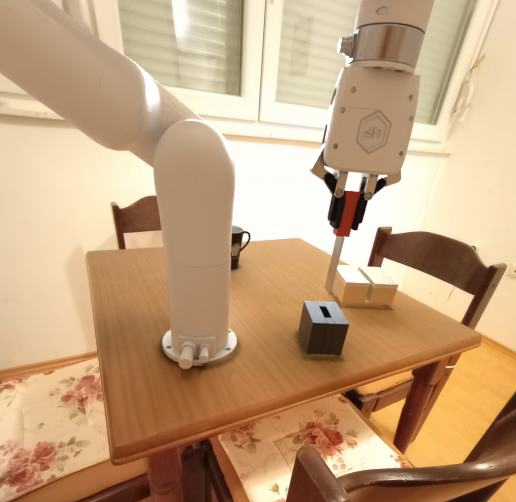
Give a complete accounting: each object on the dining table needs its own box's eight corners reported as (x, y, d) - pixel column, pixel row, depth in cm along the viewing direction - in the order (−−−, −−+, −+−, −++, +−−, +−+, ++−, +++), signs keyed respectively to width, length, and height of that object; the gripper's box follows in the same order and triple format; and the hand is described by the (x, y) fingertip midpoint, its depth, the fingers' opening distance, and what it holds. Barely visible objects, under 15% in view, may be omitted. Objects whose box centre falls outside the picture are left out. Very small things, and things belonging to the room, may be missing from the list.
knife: (335, 295, 50) (362, 192, 41) (323, 294, 49) (347, 190, 41) (331, 287, 52) (355, 188, 44) (319, 286, 52) (341, 187, 44)
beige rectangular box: (390, 308, 72) (398, 284, 69) (340, 306, 71) (346, 281, 68) (372, 289, 81) (379, 267, 78) (328, 287, 80) (333, 264, 77)
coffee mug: (213, 271, 82) (213, 232, 77) (208, 260, 89) (208, 224, 84) (255, 270, 85) (258, 233, 80) (248, 260, 92) (250, 225, 87)
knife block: (339, 359, 54) (349, 324, 50) (305, 358, 53) (312, 322, 49) (328, 334, 60) (336, 302, 56) (297, 333, 60) (303, 300, 56)
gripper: (321, 38, 31) (292, 229, 41) (469, 60, 33) (406, 239, 43) (307, 54, 37) (285, 217, 47) (431, 72, 39) (384, 225, 49)
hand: (343, 226), depth 45 cm, fingers closed on knife, 2 cm apart
